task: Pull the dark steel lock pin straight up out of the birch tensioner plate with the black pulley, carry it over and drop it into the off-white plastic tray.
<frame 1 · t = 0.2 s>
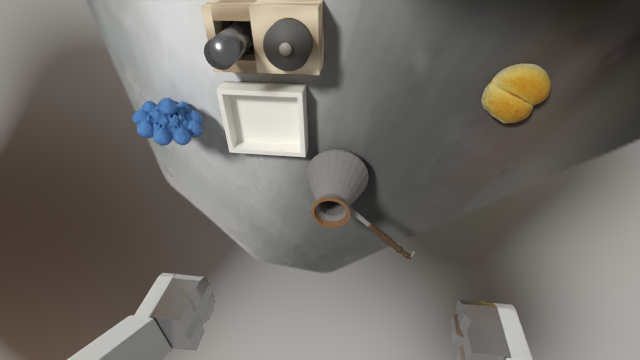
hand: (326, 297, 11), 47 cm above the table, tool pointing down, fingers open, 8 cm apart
lock pin: (245, 31, 53), resting in tensioner plate
blue lobed round piece: (185, 100, 62), on the table
tray: (268, 115, 62), on the table
coffee pot: (361, 178, 67), on the table
tensioner plate: (271, 32, 53), on the table
bread roll: (512, 90, 54), on the table
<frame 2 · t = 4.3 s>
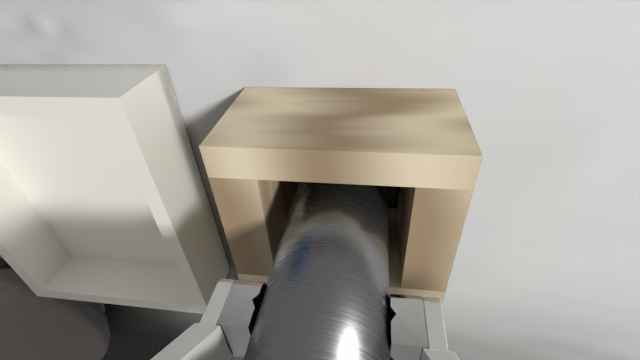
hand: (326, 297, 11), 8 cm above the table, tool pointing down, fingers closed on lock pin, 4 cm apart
lock pin: (345, 164, 17), resting in tensioner plate, touching gripper
tray: (108, 183, 21), on the table
coffee pot: (64, 318, 33), on the table
tensioner plate: (346, 223, 20), on the table
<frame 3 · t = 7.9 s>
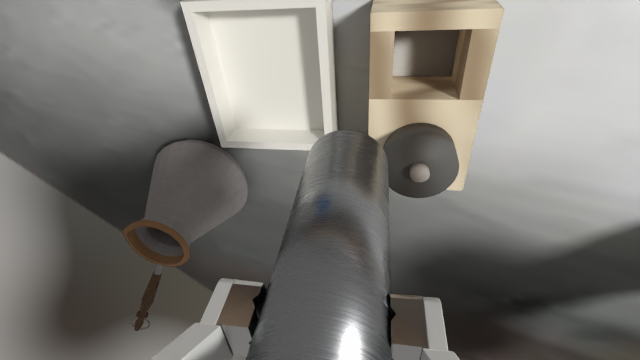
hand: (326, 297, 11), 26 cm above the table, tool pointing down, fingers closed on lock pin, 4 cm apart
lock pin: (347, 165, 17), point 18 cm above the table, touching gripper
tray: (274, 69, 34), on the table
coffee pot: (204, 193, 47), on the table
tensioner plate: (419, 89, 33), on the table
when the fingers open (11 cm above the table, at t = 11.9 s): lock pin drops 2 cm, resting on tray.
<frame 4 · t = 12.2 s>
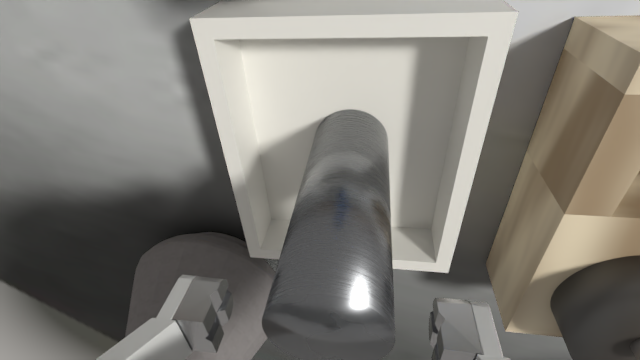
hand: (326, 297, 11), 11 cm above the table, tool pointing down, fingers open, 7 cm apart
lock pin: (350, 142, 19), point 1 cm above the table, touching tray
tray: (349, 134, 20), on the table
coffee pot: (211, 292, 32), on the table
tensioner plate: (608, 174, 19), on the table
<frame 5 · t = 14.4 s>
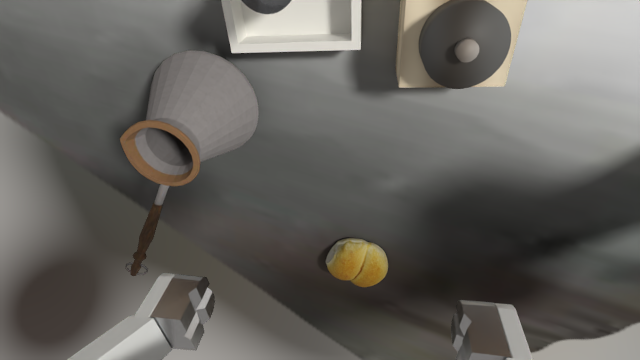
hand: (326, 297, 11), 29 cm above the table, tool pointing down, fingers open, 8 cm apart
coffee pot: (206, 128, 42), on the table
bread roll: (356, 254, 53), on the table
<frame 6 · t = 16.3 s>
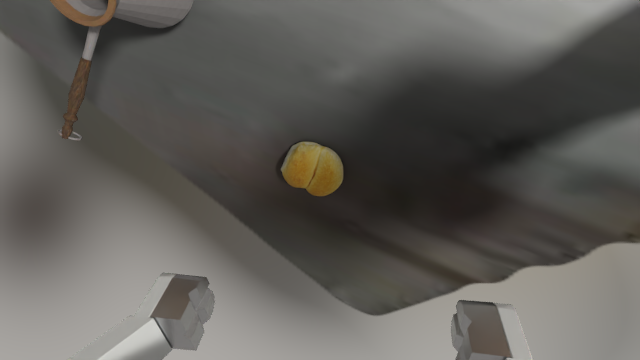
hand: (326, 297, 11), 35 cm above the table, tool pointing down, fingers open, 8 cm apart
coffee pot: (151, 9, 42), on the table
bread roll: (313, 164, 52), on the table
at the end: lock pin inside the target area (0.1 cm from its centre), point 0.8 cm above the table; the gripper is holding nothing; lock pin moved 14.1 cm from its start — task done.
